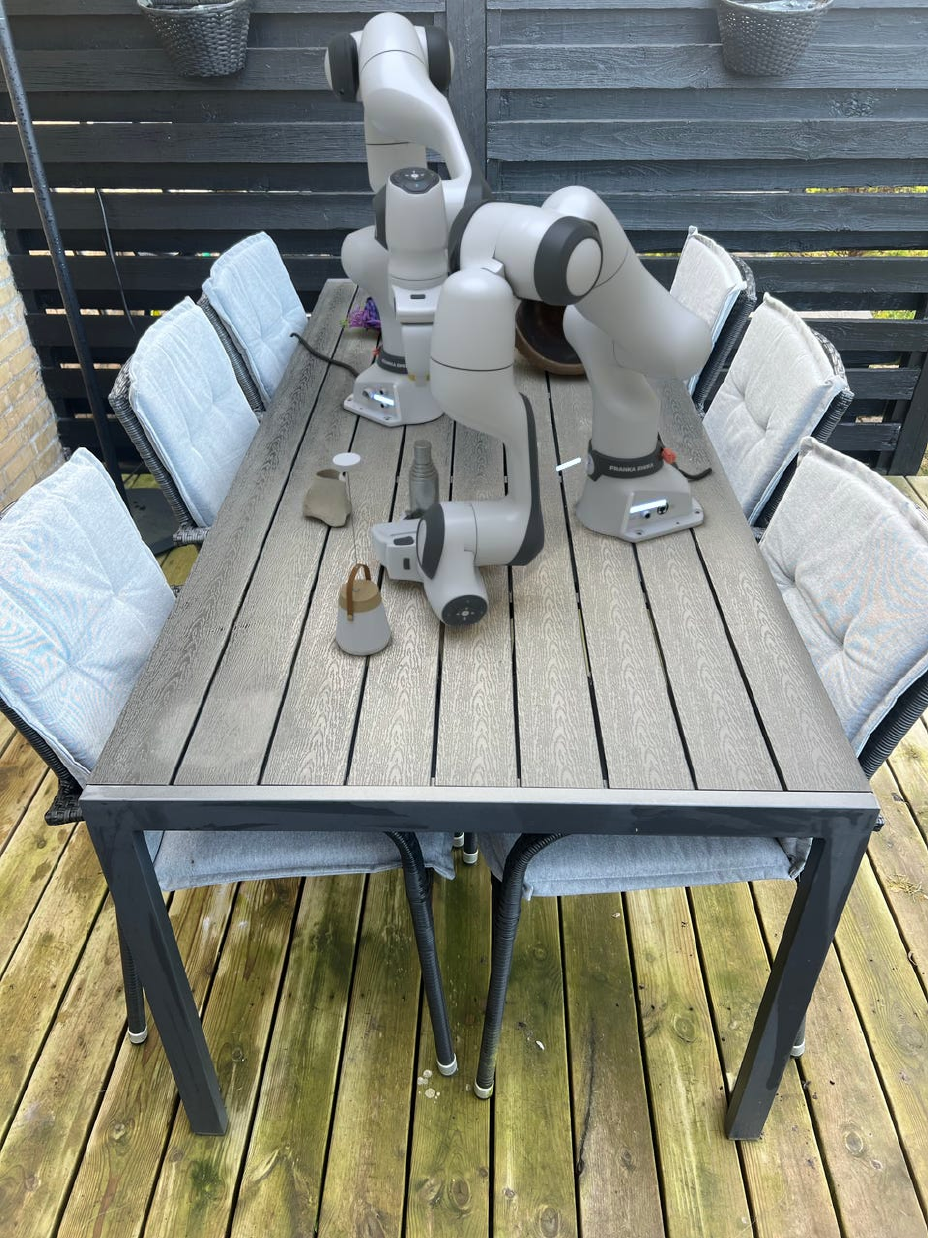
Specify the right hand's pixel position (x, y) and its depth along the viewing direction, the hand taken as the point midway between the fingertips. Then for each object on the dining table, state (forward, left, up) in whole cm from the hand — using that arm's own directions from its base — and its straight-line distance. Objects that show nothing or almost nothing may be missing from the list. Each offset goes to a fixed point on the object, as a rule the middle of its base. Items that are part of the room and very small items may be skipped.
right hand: (423, 511), depth 158 cm
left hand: (-1, -3, +23) cm, 23 cm away
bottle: (0, +1, -6) cm, 6 cm away
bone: (+16, -11, -6) cm, 20 cm away
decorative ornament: (-13, -98, -6) cm, 99 cm away
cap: (-1, -3, +25) cm, 25 cm away
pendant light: (+15, +25, -6) cm, 30 cm away
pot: (-51, -72, -6) cm, 88 cm away
